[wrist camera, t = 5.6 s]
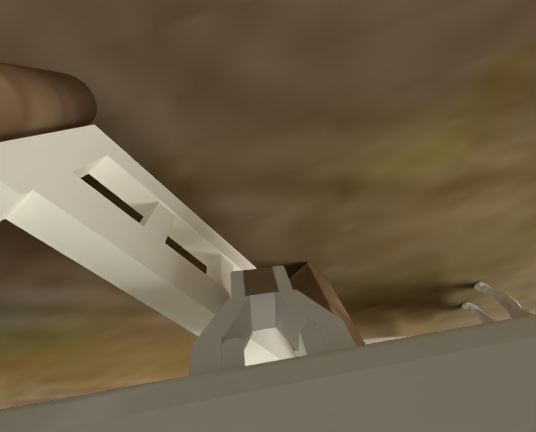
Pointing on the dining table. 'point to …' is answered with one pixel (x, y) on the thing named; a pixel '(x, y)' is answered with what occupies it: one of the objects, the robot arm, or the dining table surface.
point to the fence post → (323, 296)
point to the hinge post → (41, 102)
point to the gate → (123, 228)
